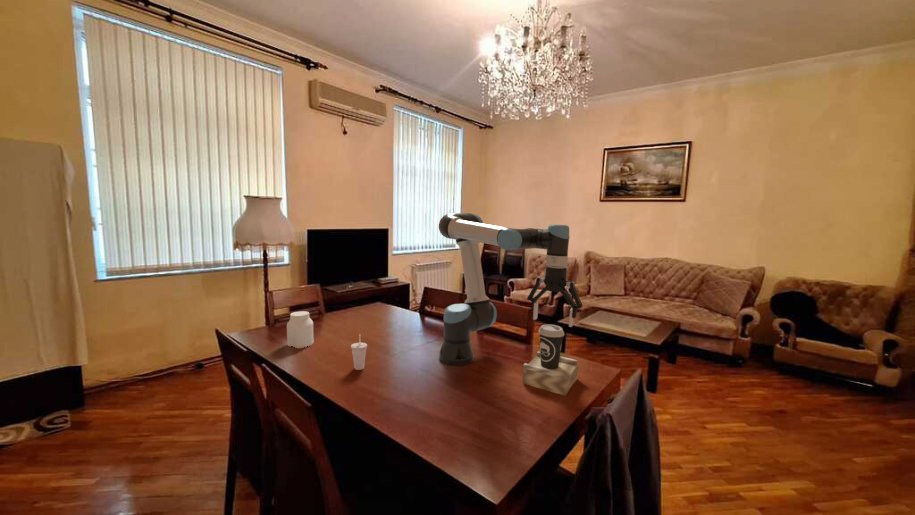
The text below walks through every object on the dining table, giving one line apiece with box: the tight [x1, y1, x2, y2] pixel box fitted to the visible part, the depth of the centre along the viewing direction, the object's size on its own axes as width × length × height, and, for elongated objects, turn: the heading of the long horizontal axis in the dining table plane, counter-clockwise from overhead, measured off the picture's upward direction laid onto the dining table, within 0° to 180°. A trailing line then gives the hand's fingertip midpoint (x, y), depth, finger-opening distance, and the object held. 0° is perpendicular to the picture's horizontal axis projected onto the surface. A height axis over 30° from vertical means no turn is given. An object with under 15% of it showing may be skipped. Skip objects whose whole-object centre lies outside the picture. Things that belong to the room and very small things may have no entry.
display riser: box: [522, 350, 579, 397], centre depth 133 cm, size 16×16×8 cm
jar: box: [286, 310, 315, 349], centre depth 165 cm, size 12×10×15 cm
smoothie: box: [350, 333, 368, 371], centre depth 140 cm, size 6×6×14 cm
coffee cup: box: [538, 324, 565, 369], centre depth 132 cm, size 10×10×15 cm
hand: (552, 322), depth 131 cm, fingers open, 13 cm apart
